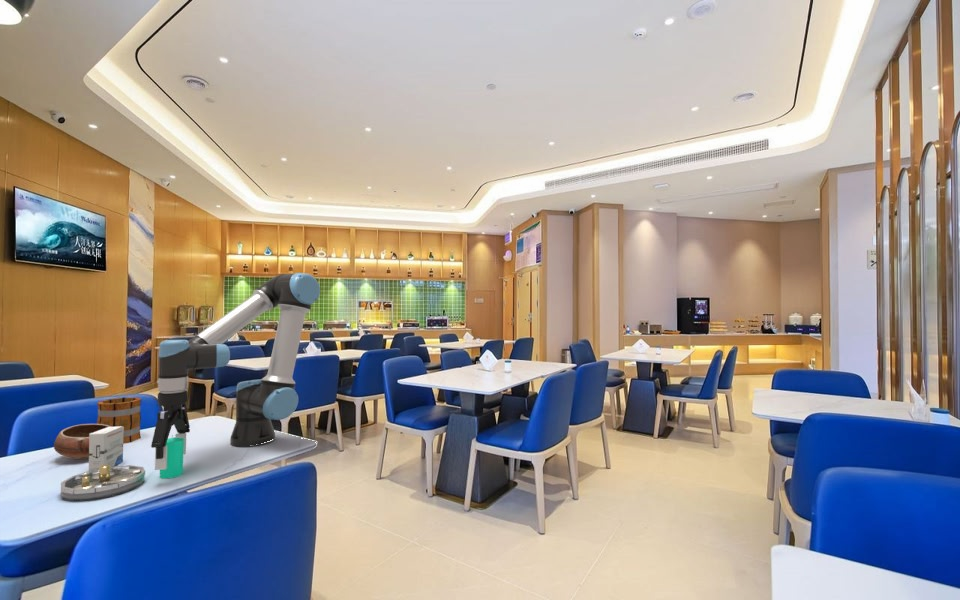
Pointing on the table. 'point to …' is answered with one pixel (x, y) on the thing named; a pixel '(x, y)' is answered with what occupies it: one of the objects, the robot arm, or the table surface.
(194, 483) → the table surface
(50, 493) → the table surface
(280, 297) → the robot arm
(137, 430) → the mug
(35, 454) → the table surface
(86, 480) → the carrier
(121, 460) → the ink box
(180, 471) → the candle
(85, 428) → the bowl
